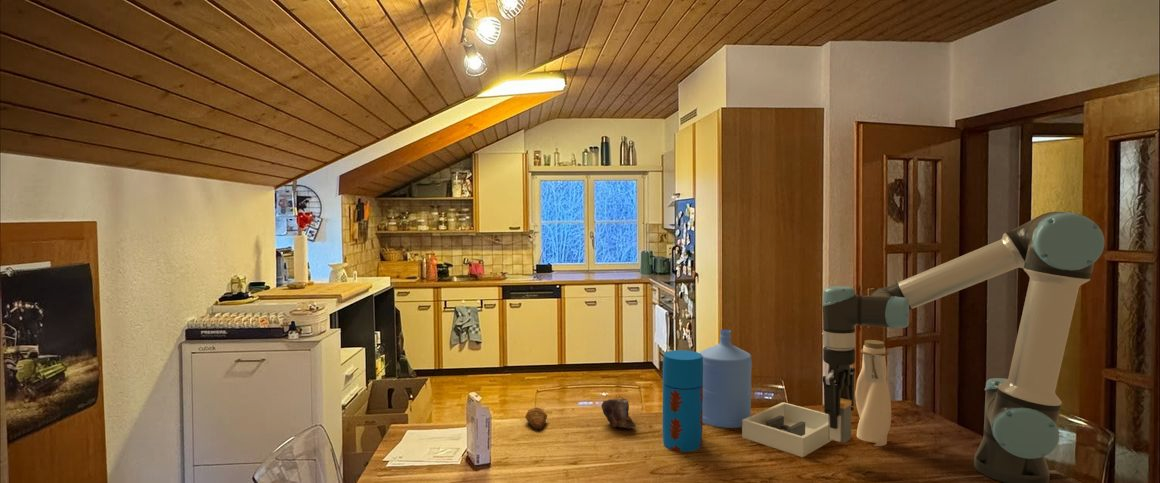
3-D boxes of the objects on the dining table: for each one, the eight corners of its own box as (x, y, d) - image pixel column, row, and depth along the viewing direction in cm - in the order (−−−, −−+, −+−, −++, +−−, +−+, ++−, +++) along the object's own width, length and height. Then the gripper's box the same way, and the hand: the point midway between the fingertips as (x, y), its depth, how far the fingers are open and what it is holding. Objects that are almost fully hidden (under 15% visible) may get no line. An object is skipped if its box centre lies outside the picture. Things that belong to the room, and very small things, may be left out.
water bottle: (895, 450, 163) (899, 347, 161) (859, 447, 165) (862, 346, 163) (884, 435, 173) (887, 339, 171) (850, 433, 175) (853, 337, 173)
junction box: (841, 438, 172) (841, 417, 171) (802, 460, 157) (803, 438, 157) (782, 421, 185) (783, 402, 185) (742, 440, 170) (742, 419, 170)
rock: (632, 423, 188) (600, 422, 188) (633, 394, 188) (600, 394, 188) (636, 431, 176) (601, 430, 176) (637, 401, 177) (602, 400, 177)
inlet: (805, 434, 172) (805, 422, 172) (791, 441, 167) (791, 429, 167) (779, 426, 178) (780, 415, 178) (765, 433, 173) (765, 421, 172)
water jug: (761, 428, 180) (762, 334, 178) (713, 433, 176) (714, 338, 174) (734, 410, 195) (735, 324, 193) (689, 415, 191) (690, 327, 189)
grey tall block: (851, 438, 156) (851, 400, 155) (844, 443, 153) (844, 404, 152) (835, 434, 159) (835, 396, 158) (828, 438, 156) (827, 400, 155)
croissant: (523, 416, 191) (523, 400, 190) (545, 415, 192) (545, 399, 191) (526, 432, 177) (526, 415, 177) (549, 431, 178) (549, 414, 178)
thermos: (656, 447, 166) (657, 357, 164) (670, 433, 176) (670, 348, 174) (695, 454, 161) (696, 361, 159) (707, 440, 170) (707, 352, 169)
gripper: (839, 339, 163) (840, 425, 164) (808, 350, 152) (809, 442, 153) (868, 343, 157) (868, 432, 159) (838, 355, 146) (838, 451, 147)
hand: (839, 437), depth 156 cm, fingers closed on grey tall block, 4 cm apart
